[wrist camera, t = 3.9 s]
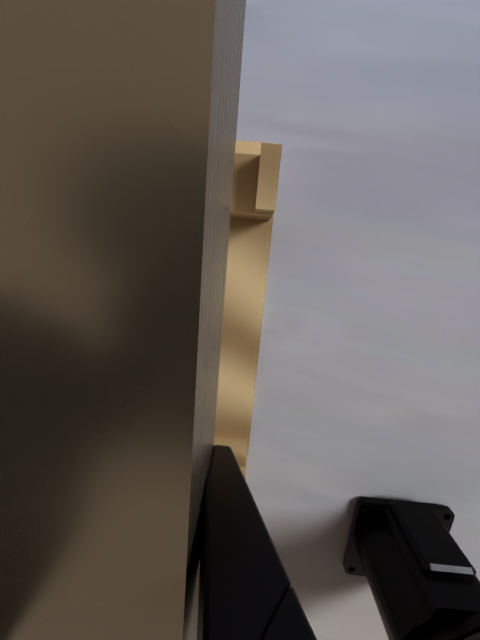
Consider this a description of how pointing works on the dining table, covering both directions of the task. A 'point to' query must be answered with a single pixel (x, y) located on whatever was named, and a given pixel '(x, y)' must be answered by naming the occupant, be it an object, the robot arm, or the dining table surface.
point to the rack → (245, 290)
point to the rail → (111, 307)
